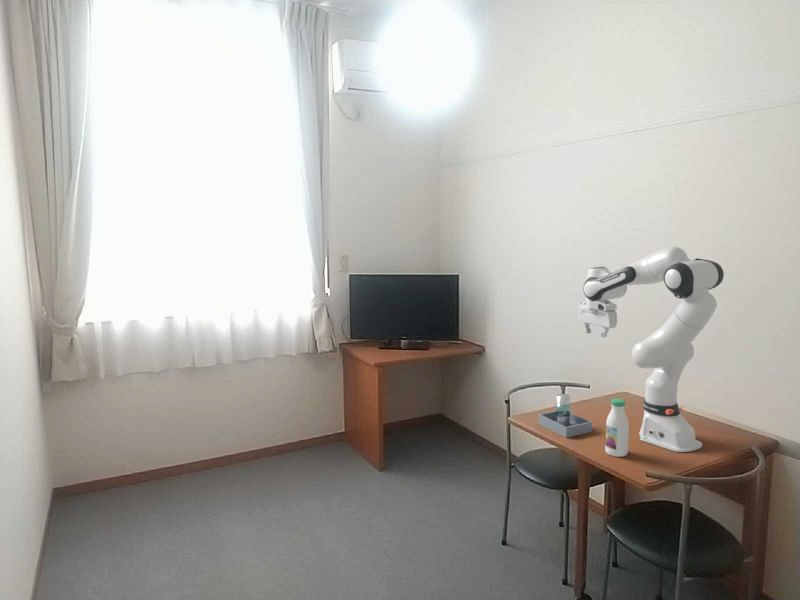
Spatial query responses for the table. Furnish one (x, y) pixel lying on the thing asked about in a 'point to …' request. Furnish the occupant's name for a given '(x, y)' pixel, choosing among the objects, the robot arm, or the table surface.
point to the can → (563, 409)
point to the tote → (575, 427)
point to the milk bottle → (617, 430)
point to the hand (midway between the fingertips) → (596, 335)
